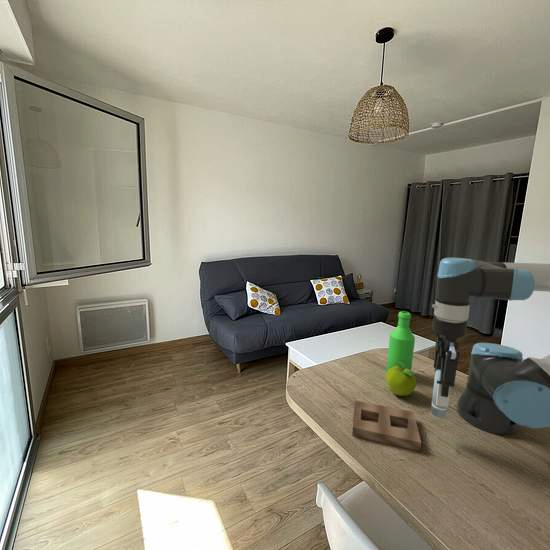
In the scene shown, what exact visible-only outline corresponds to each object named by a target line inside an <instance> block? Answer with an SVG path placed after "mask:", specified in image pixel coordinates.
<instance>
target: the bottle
mask: <svg viewBox="0 0 550 550" xmlns="http://www.w3.org/2000/svg"><path fill="white" fill-rule="evenodd" d="M397 317H398V322H397V326H396V327H395V328H394V329H393V330H392V331H391V332H390V333H389V342H388V351H387V362H386V372H387V371H388V370H389V369H391V368H392V367H394V366H398V365H397V363H396V362H402V363H404V365H405V368H407V369H409V370H411V371H412V368H413V357H414V353H415V351H414V350H415V343H416V342H415V341H416V337H415V335H414V334H413V332H412V329H410V322H411V318H412V315H411V313H410V312H409V311H404V310H402V311H399V312H398V315H397Z"/></svg>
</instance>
